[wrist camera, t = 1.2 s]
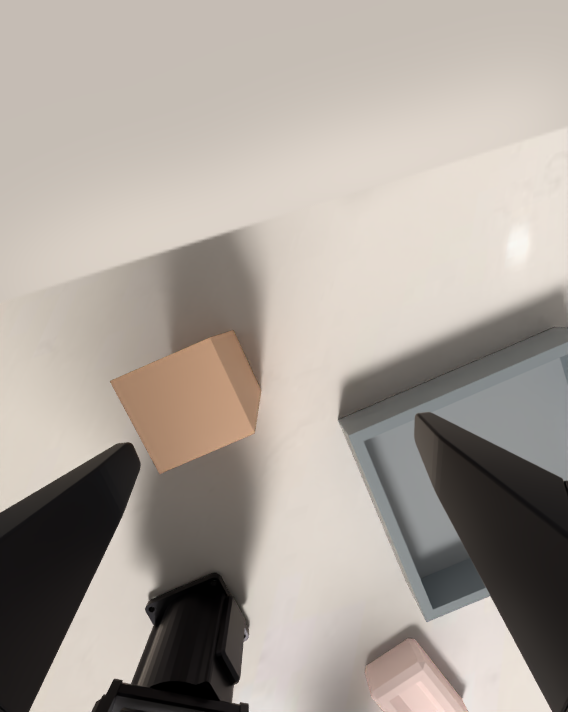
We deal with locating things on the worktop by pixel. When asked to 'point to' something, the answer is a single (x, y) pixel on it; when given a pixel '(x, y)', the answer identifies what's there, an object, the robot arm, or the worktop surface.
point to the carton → (192, 401)
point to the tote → (479, 416)
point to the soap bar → (410, 682)
